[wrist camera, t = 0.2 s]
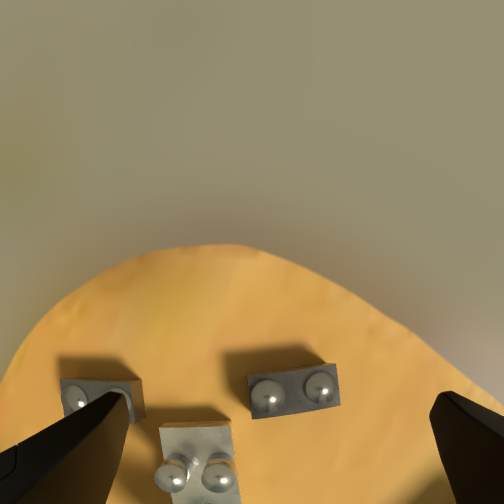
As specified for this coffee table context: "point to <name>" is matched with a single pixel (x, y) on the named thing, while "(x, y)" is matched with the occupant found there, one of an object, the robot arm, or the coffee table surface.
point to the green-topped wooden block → (199, 463)
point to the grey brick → (259, 385)
